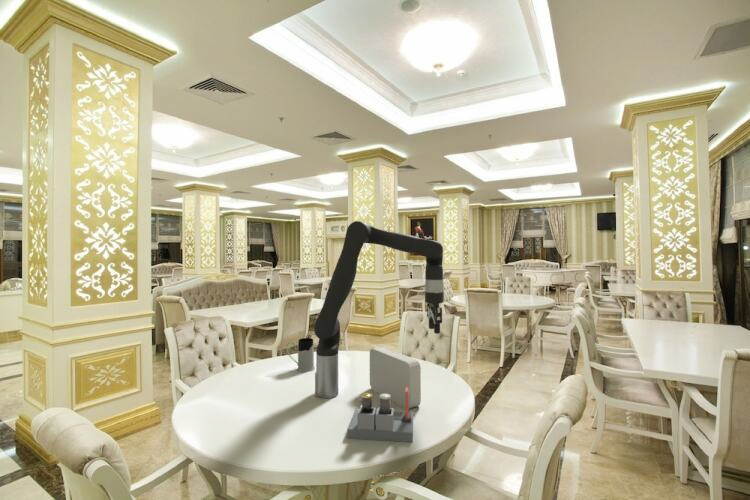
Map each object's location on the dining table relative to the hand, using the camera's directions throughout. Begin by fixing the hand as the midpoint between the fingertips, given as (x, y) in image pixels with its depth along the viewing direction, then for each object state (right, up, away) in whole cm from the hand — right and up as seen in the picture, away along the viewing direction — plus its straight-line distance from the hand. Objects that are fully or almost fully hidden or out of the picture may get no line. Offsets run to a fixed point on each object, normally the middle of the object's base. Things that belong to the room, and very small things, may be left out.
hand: (434, 331), depth 152 cm
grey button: (-21, -20, -28) cm, 40 cm away
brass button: (-27, -20, -27) cm, 43 cm away
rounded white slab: (-16, -29, +5) cm, 33 cm away
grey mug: (-62, -29, +43) cm, 81 cm away
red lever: (-13, -25, -23) cm, 36 cm away
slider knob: (-28, -25, -17) cm, 41 cm away
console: (-21, -28, -23) cm, 42 cm away
